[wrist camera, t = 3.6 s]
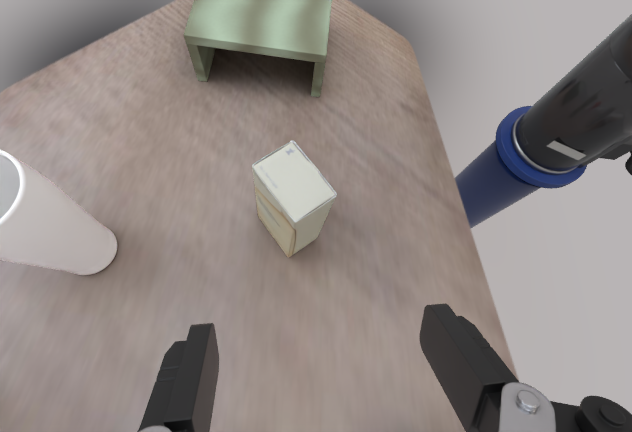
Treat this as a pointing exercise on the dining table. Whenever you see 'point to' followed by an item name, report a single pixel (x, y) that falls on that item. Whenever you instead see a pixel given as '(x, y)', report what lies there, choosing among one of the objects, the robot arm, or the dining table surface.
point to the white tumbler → (48, 224)
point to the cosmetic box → (291, 197)
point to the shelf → (260, 31)
